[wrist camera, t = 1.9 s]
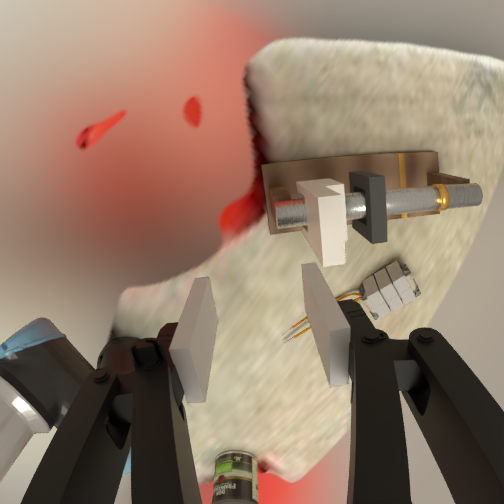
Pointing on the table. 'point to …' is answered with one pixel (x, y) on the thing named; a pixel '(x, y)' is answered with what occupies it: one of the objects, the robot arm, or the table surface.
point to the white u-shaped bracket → (325, 219)
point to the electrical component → (383, 292)
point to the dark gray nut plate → (371, 205)
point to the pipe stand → (337, 168)
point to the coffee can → (235, 478)
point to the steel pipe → (389, 202)
